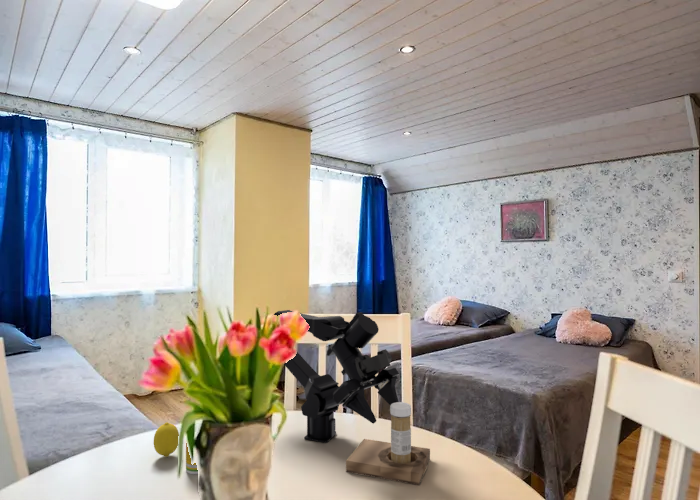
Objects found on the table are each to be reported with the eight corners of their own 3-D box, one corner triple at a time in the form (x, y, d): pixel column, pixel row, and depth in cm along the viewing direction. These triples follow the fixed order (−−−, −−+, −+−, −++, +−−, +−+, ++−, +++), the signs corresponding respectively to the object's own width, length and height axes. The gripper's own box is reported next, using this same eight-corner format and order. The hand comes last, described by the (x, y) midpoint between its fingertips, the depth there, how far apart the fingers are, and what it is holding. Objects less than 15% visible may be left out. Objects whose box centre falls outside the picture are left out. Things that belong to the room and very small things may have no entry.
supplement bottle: (203, 475, 93) (203, 430, 93) (180, 473, 94) (180, 428, 94) (216, 464, 98) (216, 420, 98) (194, 462, 99) (194, 419, 99)
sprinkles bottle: (407, 460, 99) (406, 400, 99) (414, 469, 94) (414, 407, 94) (387, 462, 98) (387, 402, 98) (394, 472, 93) (394, 409, 93)
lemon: (148, 460, 100) (148, 425, 100) (164, 450, 105) (164, 417, 105) (168, 463, 98) (168, 428, 99) (184, 453, 104) (184, 419, 104)
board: (346, 471, 94) (346, 460, 94) (364, 449, 106) (364, 438, 106) (420, 485, 89) (420, 473, 89) (431, 459, 100) (430, 448, 100)
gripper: (343, 345, 96) (382, 408, 88) (393, 334, 109) (431, 387, 102) (317, 374, 101) (353, 436, 93) (368, 360, 115) (403, 412, 107)
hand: (387, 416), depth 99 cm, fingers open, 9 cm apart
